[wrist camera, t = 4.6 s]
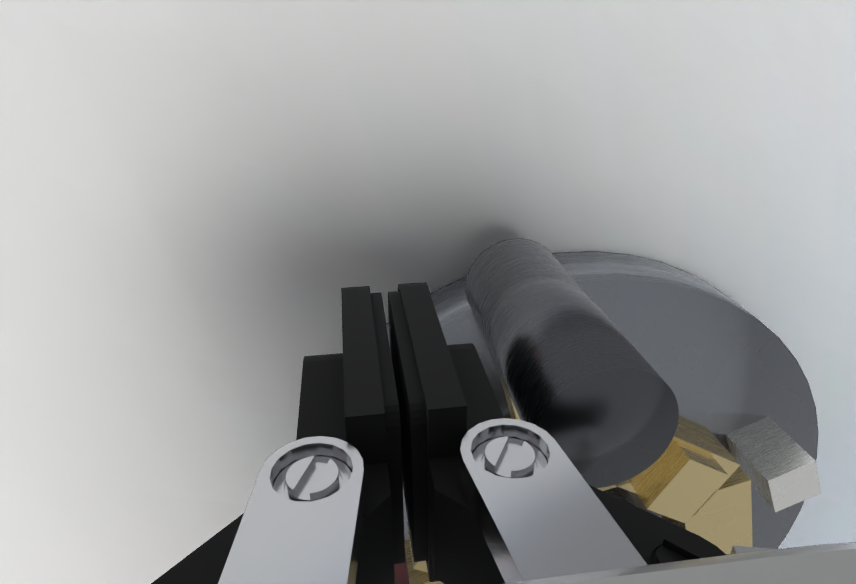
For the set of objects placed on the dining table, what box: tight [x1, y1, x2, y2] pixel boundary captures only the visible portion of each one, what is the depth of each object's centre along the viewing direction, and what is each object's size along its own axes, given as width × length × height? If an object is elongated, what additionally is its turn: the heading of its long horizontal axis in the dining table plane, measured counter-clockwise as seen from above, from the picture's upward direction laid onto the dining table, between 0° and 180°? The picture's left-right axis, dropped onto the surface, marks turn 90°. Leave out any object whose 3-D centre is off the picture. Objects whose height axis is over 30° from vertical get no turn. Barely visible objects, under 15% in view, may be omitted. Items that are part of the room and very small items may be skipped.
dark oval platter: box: [386, 251, 821, 584], centre depth 18 cm, size 17×17×6 cm
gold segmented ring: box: [405, 239, 753, 584], centre depth 15 cm, size 15×10×6 cm, turn 15°
